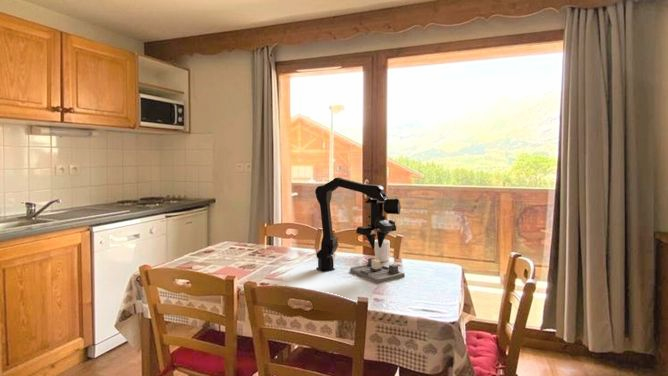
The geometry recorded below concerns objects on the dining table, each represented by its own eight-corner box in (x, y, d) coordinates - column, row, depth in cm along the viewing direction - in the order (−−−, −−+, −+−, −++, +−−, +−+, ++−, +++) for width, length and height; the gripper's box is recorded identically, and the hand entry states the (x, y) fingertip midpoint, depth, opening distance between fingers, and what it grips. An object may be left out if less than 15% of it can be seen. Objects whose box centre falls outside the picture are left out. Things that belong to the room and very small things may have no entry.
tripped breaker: (376, 272, 177) (376, 261, 177) (370, 270, 181) (370, 259, 180) (381, 271, 179) (381, 260, 179) (375, 269, 182) (375, 258, 182)
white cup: (389, 262, 201) (389, 242, 200) (373, 261, 202) (373, 242, 202) (390, 258, 209) (390, 239, 208) (375, 257, 210) (375, 238, 209)
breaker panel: (378, 283, 168) (378, 271, 167) (349, 271, 185) (349, 260, 184) (404, 277, 176) (404, 265, 176) (375, 266, 193) (375, 256, 193)
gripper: (371, 217, 166) (371, 254, 168) (404, 213, 177) (404, 248, 178) (355, 214, 176) (355, 249, 177) (387, 210, 186) (387, 244, 187)
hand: (376, 248), depth 179 cm, fingers open, 4 cm apart
